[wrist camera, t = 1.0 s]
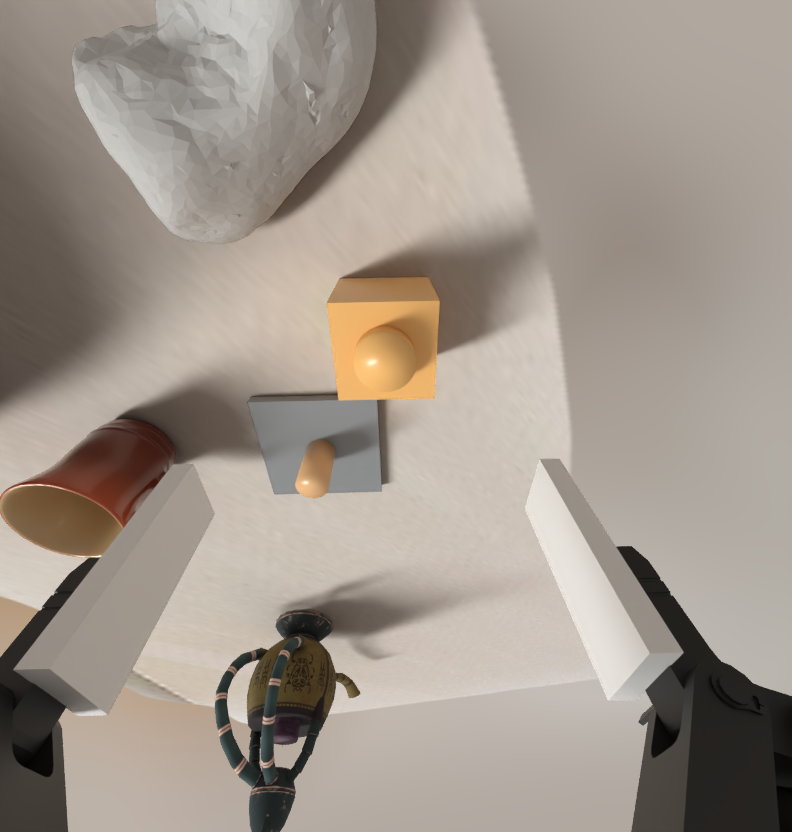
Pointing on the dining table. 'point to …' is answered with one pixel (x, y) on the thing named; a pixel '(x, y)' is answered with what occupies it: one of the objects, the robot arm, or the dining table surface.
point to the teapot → (281, 711)
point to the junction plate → (319, 423)
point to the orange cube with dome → (384, 337)
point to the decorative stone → (226, 103)
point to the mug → (90, 489)
